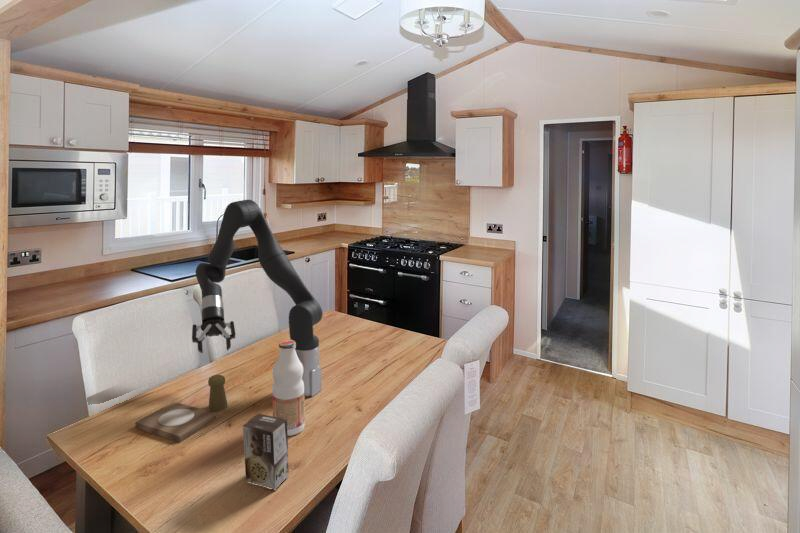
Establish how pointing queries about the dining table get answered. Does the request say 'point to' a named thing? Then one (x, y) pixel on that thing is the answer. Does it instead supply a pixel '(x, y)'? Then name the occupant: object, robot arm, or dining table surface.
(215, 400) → the cork
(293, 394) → the fruit juice
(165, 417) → the walnut board
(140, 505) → the dining table surface
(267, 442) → the coffee box
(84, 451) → the dining table surface
